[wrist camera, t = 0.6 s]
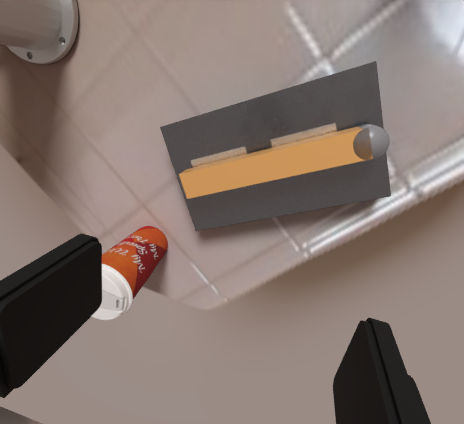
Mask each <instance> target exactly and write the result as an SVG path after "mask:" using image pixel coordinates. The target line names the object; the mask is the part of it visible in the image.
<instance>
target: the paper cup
mask: <svg viewBox="0 0 464 424" xmlns="http://www.w3.org/2000/svg"><path fill="white" fill-rule="evenodd" d="M167 247H168V242H167V239H166V237H165V235H164V234H163V233H162V232H161V231H160V230H159V229H157V228H155V227H152V226H145V227H142V228H140V229H139V230H137V231H136V232H134V233H133V234H131V235H130V236H128V237H127V238H125V239H124V240H122V241H121V242H120V243H118V244H117V245H115V246H114V247H112V248H111V249H110V250H108V251H107V252H105V253H104V254H103V255H102V303H101V305H100V307H99V309H98V310H97V311H96V312H95V313H94V314H93V315H92V317H94V318H97V319H101V320H111V319H114V318H116V317H118V316H119V315H122V314H124V313H126V312H127V311H128V310H129V308H130V307H131V305H132V301H133V299H134V297H135V296H136V294H137V293H138V291H139V290H140V289H141V287H142V286H143V285H144V283H145V282H146V281H147V279H148V278H149V276H150V275H151V273H152V272H153V270H154V269H155V267H156V266H157V264H158V263H159V261H160V260H161V259H162V257H163V255H164V254H165V252H166V250H167Z"/></svg>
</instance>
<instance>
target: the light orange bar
mask: <svg viewBox="0 0 464 424" xmlns="http://www.w3.org/2000/svg"><path fill="white" fill-rule="evenodd" d="M389 142H390V141H389V135H388V133H387V132H386V131H385V130H384V129H383V128H381V127H379V126H376V125H373V124H362V125H360V126H358V127H354V128H350V129H346V130H342V131H338V132H334V133H330V134H326V135H322V136H318V137H314V138H310V139H306V140H302V141H298V142H294V143H290V144H286V145H282V146H278V147H274V148H270V149H266V150H262V151H258V152H254V153H250V154H246V155H242V156H238V157H234V158H230V159H226V160H222V161H218V162H214V163H210V164H206V165H202V166H198V167H194V168H190V169H186V170H185V171H183V172H182V173H180V174H179V176H180V179H181V182H182V185H183V188H184V191H185V194H186V197H187V199H189V198H194V197H199V196H203V195H208V194H212V193H217V192H222V191H226V190H231V189H236V188H240V187H245V186H249V185H254V184H259V183H263V182H268V181H272V180H277V179H282V178H286V177H291V176H296V175H300V174H305V173H309V172H314V171H319V170H323V169H328V168H333V167H337V166H342V165H346V164H351V163H356V162H360V161H365V160H374V159H377V158H379V157H381V156H382V155H383V154H384V153H385V152H386V151H387V149H388V146H389Z"/></svg>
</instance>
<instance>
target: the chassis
mask: <svg viewBox="0 0 464 424" xmlns="http://www.w3.org/2000/svg"><path fill="white" fill-rule="evenodd" d="M362 124H373V125H376V126H379V127H381V128H383V119H382V110H381V101H380V91H379V82H378V73H377V64H376V61H375V62H372V63H369V64H365V65H362V66H359V67H356V68H352V69H349V70H346V71H342V72H339V73H336V74H333V75H329V76H326V77H323V78H320V79H316V80H313V81H310V82H307V83H303V84H300V85H297V86H293V87H290V88H287V89H284V90H280V91H277V92H274V93H271V94H267V95H264V96H261V97H257V98H254V99H251V100H248V101H244V102H241V103H238V104H235V105H231V106H228V107H225V108H221V109H218V110H215V111H212V112H208V113H205V114H202V115H199V116H195V117H192V118H189V119H185V120H182V121H179V122H176V123H172V124H169V125H166V126H163V127H160V129H161V131H162V134H163V137H164V140H165V143H166V146H167V149H168V152H169V155H170V157H171V160H172V163H173V166H174V169H175V172H176V175H177V178H178V181H179V183H180V186H181V189H182V192H183V195H184V198H185V201H186V204H187V207H188V210H189V212H190V215H191V218H192V221H193V224H194V227H195V230H196V231H199V230H204V229H210V228H216V227H221V226H227V225H232V224H238V223H244V222H249V221H255V220H260V219H266V218H271V217H277V216H283V215H288V214H294V213H299V212H305V211H311V210H316V209H322V208H327V207H333V206H339V205H344V204H350V203H355V202H361V201H366V200H372V199H378V198H383V197H389V196H391V192H390V183H389V174H388V165H387V156H386V152H385V153H384V154H383V155H382V156H381V157H379V158H377V159H374V160H365V161H360V162H356V163H351V164H346V165H342V166H337V167H333V168H328V169H323V170H319V171H314V172H309V173H305V174H300V175H296V176H291V177H286V178H282V179H277V180H272V181H268V182H263V183H259V184H254V185H249V186H245V187H240V188H236V189H231V190H226V191H222V192H217V193H212V194H208V195H203V196H199V197H194V198H189V199H187V197H186V194H185V191H184V188H183V185H182V182H181V179H180V176H179V174H180V173H182V172H183V171H185V170H186V169H190V168H194V167H198V166H202V165H206V164H210V163H214V162H218V161H222V160H226V159H230V158H234V157H238V156H242V155H246V154H250V153H254V152H258V151H262V150H266V149H270V148H274V147H278V146H282V145H286V144H290V143H294V142H298V141H302V140H306V139H310V138H314V137H318V136H322V135H326V134H330V133H334V132H338V131H342V130H346V129H350V128H354V127H358V126H360V125H362ZM383 129H384V128H383Z"/></svg>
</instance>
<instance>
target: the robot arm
mask: <svg viewBox="0 0 464 424" xmlns="http://www.w3.org/2000/svg"><path fill="white" fill-rule="evenodd" d="M77 30H78V7H77V2H76V0H0V44H1V45H6V46H7V47H8V48H9V49H10V50H11V51H12V52H13V53H14V54H16V55H17V56H18V57H20V58H22V59H24V60H26V61H28V62H32V63H37V64H50V63H54V62H57V61H59V60H61V59H62V58H63V57H64V56H66V54H67V53H68V52H69V51H70V49H71V48H72V45H73V43H74V41H75V38H76V34H77ZM101 303H102V246H101V243H99V241H98V239H97V238H96V237H92V236H89V235H85V234H79V235H77V236H75V237H74V238H72V239H70V240H69V241H67V242H65V243H64V244H62V245H60V246H58V247H57V248H55V249H53V250H52V251H50V252H48V253H47V254H45V255H43V256H41V257H40V258H38V259H36V260H35V261H33V262H31V263H30V264H28V265H26V266H24V267H23V268H21V269H19V270H18V271H16V272H14V273H13V274H11V275H9V276H8V277H6V278H4V279H3V280H1V281H0V397H3V398H5V397H6V396H7V395H8V394H9V393H10V392H11V391H12V390H13V389H14V388H19V387H20V386H22V385H23V384H24V383H25V382H26V381H27V380H28V379H29V378H30V377H31V376H32V375H33V374H34V373H35V372H36V371H37V370H38V369H39V368H40V367H41V366H42V365H43V364H44V363H45V362H46V361H47V360H48V359H49V358H50V357H51V356H52V355H53V354H54V353H55V352H56V351H57V350H58V349H59V348H60V347H61V346H62V345H63V344H64V343H65V342H66V341H67V340H68V339H69V338H70V337H71V336H72V335H73V334H74V333H75V332H76V331H77V330H78V329H79V328H80V327H81V326H82V324H84V323H85V322H86V321H87V320H88V319H89V318H90V317H91V316H92V315H93V314H94V313H95V312H96V311H97V310H98V309H99V307H100V305H101ZM333 393H334V403H335V404H334V405H335V416H336V424H431V422H430V420H429V417H428V415H427V412H426V409H425V407H424V404H423V402H422V399H421V396H420V394H419V391H418V388H417V386H416V383H415V381H414V380H413V378H411V376H410V375H408V374H407V371H406V369H405V366H404V363H403V360H402V358H401V355H400V352H399V349H398V347H397V344H396V341H395V339H394V336H393V333H392V330H391V328H390V326H389V324H388V323H386V322H382V321H379V320H375V319H372V318H368V319H367V320H366V321H360V323H359V324H358V326H357V329H356V331H355V333H354V336H353V338H352V340H351V342H350V344H349V346H348V349H347V351H346V353H345V355H344V357H343V360H342V362H341V364H340V366H339V369H338V371H337V373H336V375H335V377H334V383H333ZM0 424H42V423H39V422H37V421H34V420H32V419H30V418H27V417H25V416H22V415H20V414H17V413H15V412H12V411H10V410H8V409H5V408H3V407H0Z"/></svg>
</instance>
